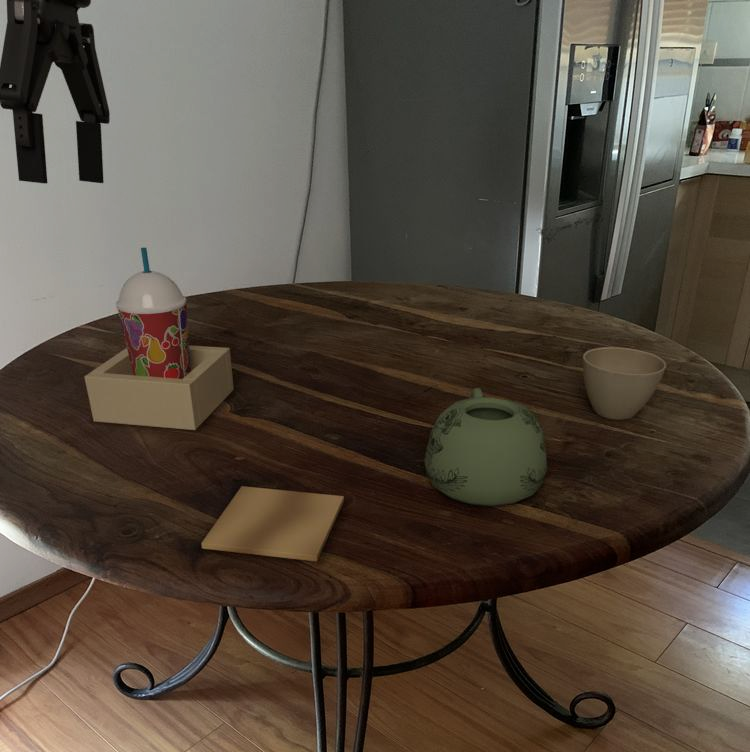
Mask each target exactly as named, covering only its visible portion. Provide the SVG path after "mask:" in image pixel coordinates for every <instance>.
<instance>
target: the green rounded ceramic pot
mask: <svg viewBox="0 0 750 752" xmlns="http://www.w3.org/2000/svg"><path fill="white" fill-rule="evenodd" d="M426 446H427V447H426V451H425V454H424V458H423V463H424V467H425V473H426V477H427V478H428V480H429V482H430V484H431V485H432V486H433V487H434V488H435V489H436V490H437V491H439V492H441V493H442V494H444V495H445V496H447V497H449V498H450V499H452V500H454V501H457V502H461V503H463V504H467V505H471V506H479V507H490V508H491V507H492V508H493V507H501V506H507V505H508V506H509V505H512V504H514V503H516V502H520V501H523V500H525V499H527V498H529V497H531V496H534V494H536V492H537V491H538V490H539V488H540V487H541V486H542V485H543V482H544V479H545V477H546V474H547V470H548V463H547V449H546V446H547V445H546V438H545V435H544V432H543V429H542V426H541V423H540V422H539V420H538V419H537V417H536V416H535V415H534V414H533V413H532V412H531V411H529V409H528V408H527V407H526V406H524V405H522V404H520V403H517V402H515V401H513V400H508V399H504V398H500V397H487V396H486V397H484V393H483V391H482V389H481V388H480V387H476V388H473V389H472V390H471V394H470V396H469V397H468V398H464V399H461V400H458V401H455V402H454V403H453V404H451V405H450V406H449V407H447V408H446V409H445V410H443V411H442V412H441V413H440V414H439V416H438V418H437V419H436V421H435V422H434V425H433V426H432V429H431V430H430V434H429V438H428V443H427V445H426Z"/></svg>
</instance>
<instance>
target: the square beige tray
mask: <svg viewBox="0 0 750 752" xmlns="http://www.w3.org/2000/svg"><path fill="white" fill-rule="evenodd" d="M189 352H190V367H191V372H190V373H189V374H188V375H186V376H185V377H184V378H183V379H175V378H161V377H148V376H135V375H133V371H132V367H131V362H130V358H129V354H128V350H127V347H126V348H124V349H123V350H122V351H119V352H118V353H117V354H115V355H114V356H112V357H111V358H109V359H108V360H107V361H105V362H103V363H101V364H100V365H99V366H97V367H96V368H94V369H93V370H92V371H90V372H89V373H87V374H86V375H84V382H85V386H86V393H87V396H88V401H89V407H90V410H91V411H90V412H91V415H92V420H93V422H95V423H105V424H106V423H108V424H120V425H132V426H140V427H141V426H142V427H152V428H153V427H154V428H164V429H165V428H166V429H177V430H188V431H189V430H190V431H196V430H197V429H198V428H199V427H200V426H201V425H202V424H203V423H204V422H205V421H206V419H208V418H209V416H210V415H212V413H213V412H214V411H215V410H217V408H218V407H219V406H220V405H221V404H222V403H223V402H224V400H225V399H226V398H228V397H229V396H230V394H231V393H232V392H233V391H234V390H235V388H234V378H233V377H234V376H233V370H232V359H231V348H230V347H222V346H221V347H218V346H204V345H203V346H202V345H190V344H189Z"/></svg>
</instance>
